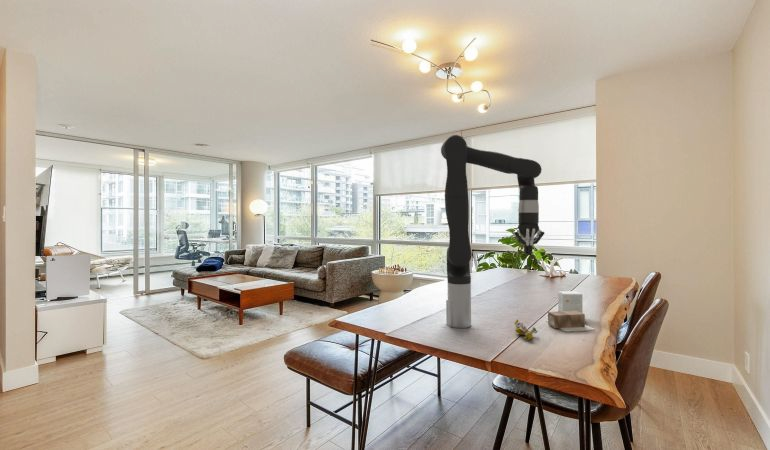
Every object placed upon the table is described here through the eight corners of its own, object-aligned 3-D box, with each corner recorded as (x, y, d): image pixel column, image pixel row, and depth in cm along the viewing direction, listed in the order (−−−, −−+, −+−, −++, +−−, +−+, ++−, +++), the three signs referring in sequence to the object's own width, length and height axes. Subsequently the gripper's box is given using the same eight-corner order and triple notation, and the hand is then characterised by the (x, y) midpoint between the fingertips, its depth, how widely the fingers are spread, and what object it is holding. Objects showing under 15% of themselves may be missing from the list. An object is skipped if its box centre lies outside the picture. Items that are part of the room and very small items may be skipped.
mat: (565, 331, 133) (565, 330, 133) (546, 321, 146) (546, 320, 146) (595, 329, 134) (595, 329, 134) (573, 319, 147) (573, 319, 147)
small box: (577, 315, 154) (577, 291, 154) (582, 318, 148) (582, 293, 148) (557, 314, 155) (557, 290, 155) (563, 318, 149) (562, 293, 149)
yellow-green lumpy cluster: (528, 323, 138) (542, 333, 123) (519, 333, 138) (533, 345, 123) (517, 314, 138) (530, 324, 123) (508, 325, 138) (521, 336, 123)
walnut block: (555, 315, 136) (584, 314, 137) (548, 311, 140) (576, 310, 142) (555, 328, 136) (584, 326, 137) (548, 324, 141) (576, 323, 142)
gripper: (516, 211, 138) (516, 256, 138) (549, 211, 139) (548, 255, 139) (508, 211, 145) (508, 253, 145) (539, 211, 146) (539, 253, 147)
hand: (528, 254), depth 142 cm, fingers closed
